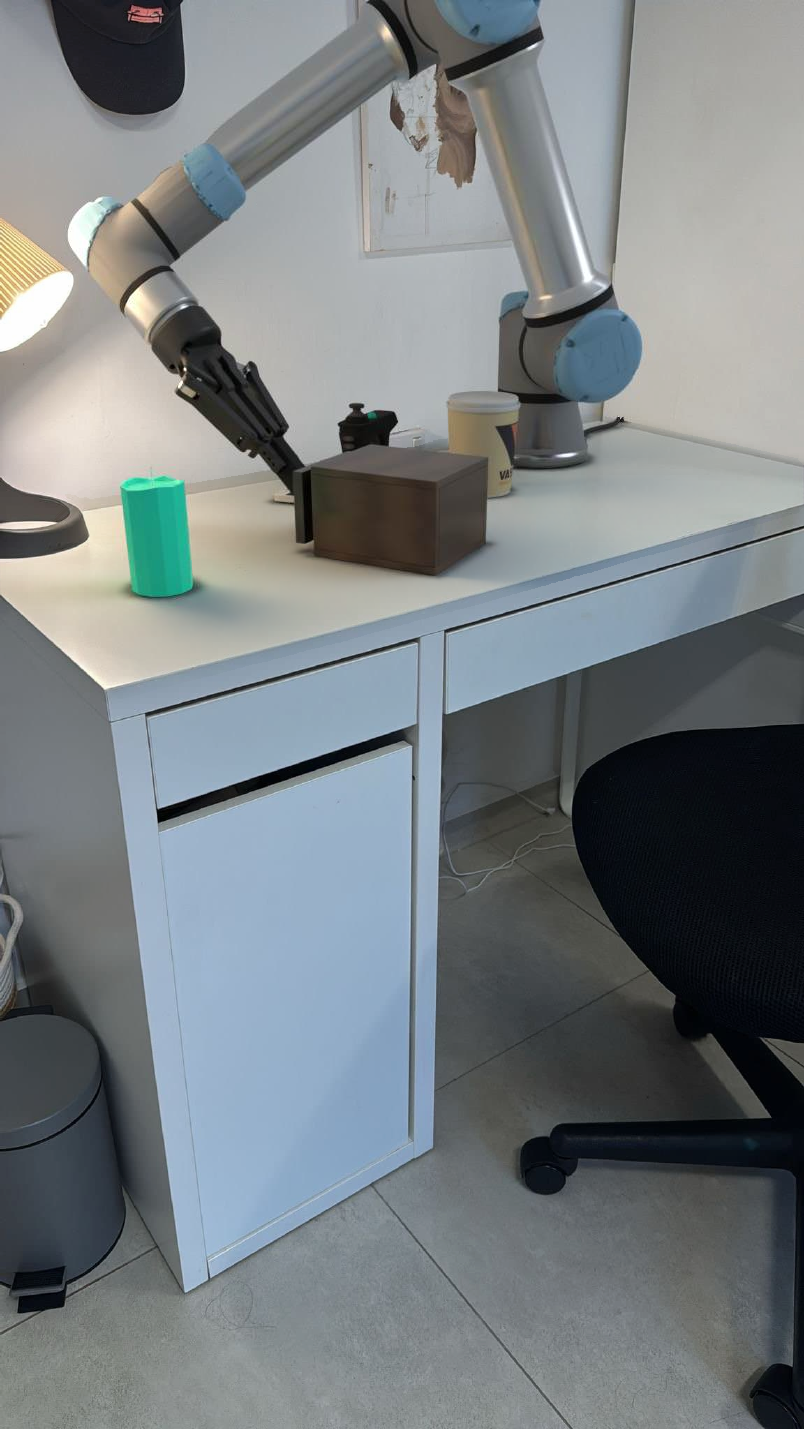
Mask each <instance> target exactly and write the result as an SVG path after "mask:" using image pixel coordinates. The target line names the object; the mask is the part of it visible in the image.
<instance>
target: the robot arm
mask: <svg viewBox="0 0 804 1429" xmlns="http://www.w3.org/2000/svg"><path fill="white" fill-rule="evenodd" d="M541 1H542V0H367V1H366V2H364V3H362V5H361V6H360V8H359V13H358V14H359V15H358V19H357V20H356V21H354V23H353V24H351V25H350V26H348V27H347V28H346V29H344V30H343V31H342V32H341V33H339V34H338V35H336V36H335V37H334V38H332V39H331V40H330V41H329V42H327V43H326V44H325V45H323V46H322V47H320V48H319V49H318V50H317V51H315V52H314V53H313V54H311V55H310V56H309V57H307V59H305V60H303V61H302V62H301V63H300V64H299V65H297V66H295V68H293V69H292V70H290V71H289V72H288V73H287V74H285V75H284V76H283V77H281V78H280V79H278V80H277V81H276V82H275V83H273V84H272V85H271V86H269V87H268V88H267V89H266V90H264V91H263V92H262V93H260V94H259V95H258V96H256V97H255V98H254V99H252V100H251V101H250V102H248V103H247V104H246V105H244V106H243V107H242V108H241V109H239V110H238V111H236V112H235V113H234V114H233V115H231V116H232V117H231V116H230V117H231V118H230V117H229V118H227V119H228V120H227V119H226V120H227V121H226V120H225V121H226V122H225V121H224V122H225V123H224V122H223V123H224V124H222V123H221V124H222V125H221V124H220V125H221V126H220V125H219V126H220V127H219V128H218V129H217V130H216V131H214V133H213V134H212V135H211V136H210V137H209V138H208V140H206V142H205V143H203V144H201V145H200V146H198V147H197V148H196V149H194V150H193V151H192V152H190V153H187V154H186V155H184V157H183V158H182V159H181V160H180V161H179V162H178V163H176V164H175V165H174V166H172V167H169V168H167V169H165V170H164V171H162V172H161V173H160V174H159V175H158V176H157V177H156V178H155V180H154V181H153V184H152V185H151V186H150V187H149V188H147V189H146V190H145V189H144V191H143V192H142V193H141V194H139V195H138V196H137V197H136V198H134V199H133V200H131V201H128V202H127V204H126V205H124V204H123V203H120V201H118V200H117V199H116V198H114V197H111V196H101V197H97V199H96V200H94V201H93V202H92V201H89V202H87V203H86V204H85V205H83V206H82V207H81V208H80V209H79V210H78V211H76V213H75V215H74V216H73V218H72V220H71V221H70V223H69V227H68V230H67V239H68V243H69V246H70V248H71V250H72V251H73V253H74V254H75V255H76V257H77V258H78V259H79V261H80V262H81V263H82V265H83V267H84V268H85V269H86V271H87V272H88V274H89V275H90V276H91V277H92V278H93V279H94V281H95V282H96V283H97V285H98V286H99V287H100V288H101V289H102V291H103V292H104V293H105V294H106V295H107V296H108V298H109V299H110V300H111V301H112V303H113V304H114V305H115V306H116V307H117V308H118V310H119V311H120V313H122V314H123V316H124V317H125V318H126V319H127V320H128V322H129V323H130V324H131V326H132V327H133V328H134V329H135V330H136V332H137V333H138V335H139V336H140V337H141V338H142V340H143V341H144V342H145V343H146V344H147V345H148V346H150V348H151V351H152V353H153V354H154V356H156V358H157V359H158V360H159V362H160V363H161V364H162V366H164V368H165V369H166V371H168V372H169V373H170V374H172V375H178V376H179V378H181V380H180V382H179V383H178V385H177V386H176V388H175V389H174V394H175V395H177V396H178V397H179V398H180V399H182V400H183V401H185V402H187V403H188V404H189V405H191V406H192V407H193V408H194V409H195V410H196V411H197V412H198V413H199V414H201V415H202V416H203V417H204V418H205V419H206V421H208V422H209V423H210V424H211V425H212V426H213V427H214V428H215V429H216V430H217V431H218V432H219V433H220V434H221V435H222V436H223V437H225V439H227V441H229V442H230V443H231V444H232V445H233V446H234V447H235V448H236V449H237V450H238V451H239V452H241V453H246V452H247V451H249V453H248V454H247V456H248V457H249V458H251V459H255V458H256V457H257V456H260V458H261V459H262V460H263V462H264V463H265V464H266V465H267V467H268V468H269V469H270V470H271V471H272V473H274V474H275V475H276V476H277V477H278V478H279V480H280V481H281V482H282V484H283V485H284V486H285V487H286V488H288V490H289V491H290V492H291V493H292V495H293V496H294V487H293V471H295V470H298V469H301V468H303V467H306V466H305V464H304V463H303V461H302V460H301V459H300V457H299V455H297V453H296V451H294V449H293V448H292V447H291V446H290V444H289V443H288V442H287V440H286V439H285V438H284V435H286V433H287V432H288V430H289V428H290V425H289V423H288V421H287V420H286V417H284V414H283V413H282V411H281V409H280V408H279V407H278V405H277V403H276V401H275V400H274V398H273V396H272V395H271V393H270V391H269V390H268V388H267V387H266V385H265V383H264V381H263V380H262V378H261V376H260V372H259V369H258V365H257V364H256V363H255V362H254V361H252V360H249V361H247V362H246V364H243V363H240V362H237V359H236V357H235V356H234V355H233V354H232V353H231V352H230V351H228V350H227V349H226V348H225V347H224V346H223V344H222V330H221V328H220V326H219V325H218V324H217V322H216V321H215V320H214V319H213V317H211V315H210V314H209V313H208V311H207V310H206V309H205V308H204V307H203V306H201V305H200V302H199V299H198V298H197V297H196V296H195V294H194V293H193V292H192V290H191V289H190V288H189V287H188V286H187V285H186V284H185V282H184V281H183V280H182V279H181V278H180V276H179V275H178V274H177V273H176V271H175V270H174V269H173V268H172V267H171V265H173V263H175V262H177V261H178V260H179V259H181V257H182V256H183V255H184V254H185V253H187V252H188V251H189V250H190V249H192V248H193V247H194V246H196V245H197V244H198V243H199V242H201V241H202V240H203V239H204V238H206V237H207V236H208V235H209V234H210V233H212V232H213V231H215V230H216V229H217V228H218V227H219V226H221V225H222V224H223V223H225V222H228V221H229V220H230V218H231V216H233V214H234V213H235V212H237V211H238V210H239V209H240V208H241V207H242V206H243V205H244V204H245V202H246V199H247V196H246V195H247V191H248V190H250V189H252V188H253V187H254V186H255V185H257V184H258V183H260V182H261V181H262V180H263V179H265V178H266V177H267V176H269V175H270V174H272V173H273V172H275V171H276V170H277V169H278V168H279V167H281V166H282V165H283V164H285V163H286V162H288V161H289V160H291V159H292V158H293V157H294V156H296V155H297V154H298V153H299V152H301V151H302V150H304V149H306V147H307V146H309V145H310V144H312V143H313V142H315V141H316V140H317V139H318V138H319V137H321V136H323V135H324V134H325V133H326V132H327V131H329V130H331V128H333V127H334V126H336V125H337V124H339V123H340V122H341V121H342V120H344V119H345V118H346V117H348V116H349V115H350V114H352V113H353V112H354V111H355V110H357V109H358V108H360V107H361V106H362V105H364V104H365V103H366V102H368V101H369V100H370V99H371V98H373V97H374V96H375V95H377V94H378V93H380V92H381V91H382V90H384V89H385V88H386V87H388V86H389V85H390V84H392V83H398V84H401V85H405V84H406V83H408V82H409V81H410V80H411V79H413V78H414V77H416V76H417V75H418V74H421V72H423V71H425V70H427V69H429V68H431V67H433V66H434V65H437V64H439V63H441V65H442V68H443V71H444V74H445V78H446V81H447V83H448V85H449V86H451V87H453V88H455V89H457V90H458V91H460V92H462V93H463V94H464V95H465V96H466V99H467V102H468V106H469V109H470V111H471V116H472V118H473V122H474V124H475V127H476V128H475V129H476V131H477V134H478V137H479V140H480V144H481V146H482V149H483V152H484V156H485V159H486V162H487V165H488V169H489V172H490V174H491V178H492V181H493V184H494V188H495V191H496V194H497V198H498V200H499V204H500V207H501V210H502V213H503V217H504V219H505V223H506V225H507V228H508V232H509V236H510V239H511V241H512V244H513V248H514V251H515V254H516V257H517V260H518V264H519V267H520V270H521V273H522V277H523V279H524V283H525V286H526V289H527V290H519V291H512V292H508V293H507V294H505V295H504V296H503V298H502V300H501V304H500V311H499V312H500V313H499V316H498V324H499V327H498V328H499V329H498V364H497V365H498V366H497V392H505V393H510V394H514V395H516V396H518V399H519V400H518V401H519V402H520V408H519V413H518V425H517V435H516V444H515V453H514V463H513V467H515V468H527V469H528V468H529V469H551V468H563V467H564V468H565V467H570V466H576V465H579V464H581V463H584V462H585V461H587V459H588V451H589V444H588V440H587V438H586V437H585V436H588V435H589V434H592V433H594V432H599V431H603V430H607V429H611V428H614V427H617V426H618V425H619V424H620V423H625V418H624V416H623V417H622V418H621V419H620V417H617V416H616V418H615V419H614V420H613V421H611V422H608V423H603V424H600V425H595V426H591V427H589V428H586V429H584V427H583V426H584V425H583V420H582V415H581V412H580V407H579V403H586V404H599V403H604V402H606V401H607V402H608V401H609V400H611V399H613V398H615V397H616V396H618V395H619V394H621V393H622V392H623V391H624V390H625V389H626V388H627V387H628V386H629V384H630V383H631V382H632V381H633V378H634V376H635V375H636V372H637V370H638V369H639V367H640V363H641V360H642V356H643V340H642V335H641V332H640V329H639V328H638V326H637V323H636V322H635V321H634V320H633V319H632V318H631V317H630V315H628V314H627V313H626V312H625V311H622V310H620V307H619V305H618V301H617V297H616V294H615V290H614V287H613V283H612V279H611V278H610V277H609V276H608V275H606V274H604V273H602V272H599V271H598V270H597V269H596V268H595V266H594V262H593V259H592V255H591V251H590V247H589V244H588V241H587V237H586V234H585V231H584V227H583V224H582V219H581V217H580V213H579V209H578V204H577V201H576V198H575V195H574V191H573V188H572V184H571V180H570V177H569V173H568V170H567V167H566V163H565V160H564V159H565V158H564V156H563V152H562V148H561V145H560V142H559V138H558V135H557V132H556V128H555V124H554V121H553V116H552V112H551V109H550V107H549V102H548V99H547V95H546V92H545V88H544V84H543V81H542V78H541V74H540V70H539V67H538V59H539V56H540V55H541V52H542V49H543V47H544V44H545V42H546V40H545V36H544V33H543V29H542V25H541V21H540V18H539V14H538V11H539V8H540V5H541Z"/></svg>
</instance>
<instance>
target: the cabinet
mask: <svg viewBox="0 0 804 1429" xmlns="http://www.w3.org/2000/svg"><path fill="white" fill-rule="evenodd" d="M311 487H312V513H313V539H314V540H313V556H315V557H321V558H325V559H326V558H327V559H333V560H338V561H339V560H340V561H345V562H349V563H350V562H351V563H358V564H363V565H368V566H369V565H370V566H375V567H382V568H386V569H387V568H388V569H393V570H398V571H399V570H400V571H405V572H413V573H419V574H423V575H429V576H430V575H431V576H436V575H438V574H440V573H441V572H443V571H444V570H446V569H448V568H449V567H451V566H453V565H455V564H456V563H458V562H460V561H461V560H462V559H464V558H465V557H467V556H469V555H471V554H472V553H473V552H476V550H479V549H480V548H482V547H483V546H485V545H487V520H488V519H487V517H488V515H487V514H488V498H487V489H488V457H481V456H472V455H463V454H454V453H449V452H444V451H434V450H425V449H417V448H409V447H407V448H406V447H398V446H390V445H389V446H381V445H372V444H370V445H368V446H365V447H362V448H359V449H357V450H354V451H351V452H349V453H346V454H343V455H341V456H338V457H335V458H332V459H330V460H327V461H324V462H322V463H319V464H316V465H314V466H311Z"/></svg>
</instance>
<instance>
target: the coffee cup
mask: <svg viewBox="0 0 804 1429" xmlns="http://www.w3.org/2000/svg"><path fill="white" fill-rule="evenodd" d="M518 400H519V399H518V396H516V395H514V394H510V393H505V392H498V391H494V390H473V391H472V390H469V391H460V392H456V393H452V394H450V395H449V396H448V400H447V401H446V408H447V428H448V429H447V430H448V448H449V450H448V451H449V452H448V453H454V454H463V455H472V456H481V457H488V489H487V499H490V498H499V497H503V496H506V495H509V494H510V493H511V489H512V480H513V472H514V471H513V470H514V466H513V463H514V453H515V444H516V435H517V425H518V413H519V408H520V402H519V401H518Z"/></svg>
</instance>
